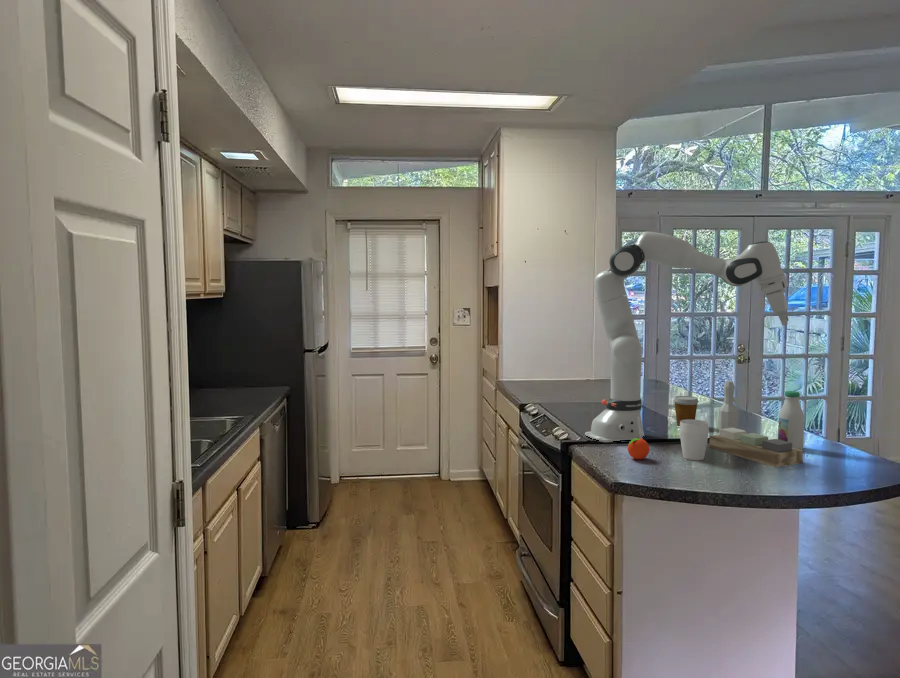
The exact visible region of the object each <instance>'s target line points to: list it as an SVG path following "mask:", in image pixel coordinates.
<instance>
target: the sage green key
mask: <svg viewBox="0 0 900 678" xmlns="http://www.w3.org/2000/svg"><path fill="white" fill-rule="evenodd" d="M763 440H769V436H767V435H763V434H759V433H757V432H756V433H755V432H751V433H746V434H741V435H740V442H741V443H745V444H748V445H752V446H761V445H762V441H763Z"/></svg>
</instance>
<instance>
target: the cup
mask: <svg viewBox="0 0 900 678" xmlns="http://www.w3.org/2000/svg"><path fill="white" fill-rule="evenodd" d="M709 427H710V426H709V422H708V421H706V420H702V419H695V420H693V419H687V420H681V421H680V428H679V439H680V444H681V453H682V457H683V459H686V460H689V461H703V460H704V459H705V455H706V450H707V446H708V445H707V444H708V439H709V434H710V433H709V432H710V430H709Z"/></svg>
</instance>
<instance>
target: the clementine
mask: <svg viewBox="0 0 900 678" xmlns="http://www.w3.org/2000/svg"><path fill="white" fill-rule="evenodd" d="M628 442H629V443H628V444H627V452H628V455H630V457H631V458H632V459H636V460H644V459H645V458H647V456H648V455H649V454H650V446H649V445H650V444H649V443H648V442H647V441H646V440H645V439H643V438H642V439H641V438H635V439H633V440H631V441H628Z"/></svg>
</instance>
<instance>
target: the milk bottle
mask: <svg viewBox="0 0 900 678" xmlns="http://www.w3.org/2000/svg"><path fill="white" fill-rule="evenodd" d="M800 393H801V392H799V391H796V390H786V391H784V398H785V399H784V402H783V405H782V406H781V408H780V411H779V414H778V428H777V429H778V430H777V431H778V434H777V439H779V440H783V441H787V442H791V443H792V448H795V449H798V450H802V451H803V449H804V435H805V434H804V433H805V432H804V431H805V425H804V424H805V416H804V415H805V414H804V412H803V409H802V407H801V404H800V396H801V394H800Z"/></svg>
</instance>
